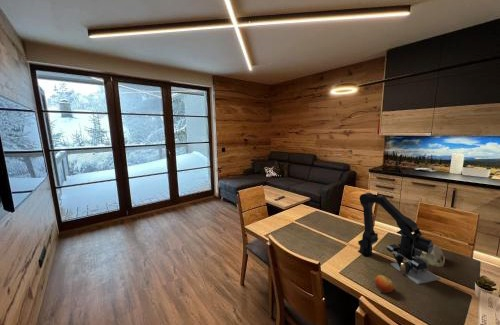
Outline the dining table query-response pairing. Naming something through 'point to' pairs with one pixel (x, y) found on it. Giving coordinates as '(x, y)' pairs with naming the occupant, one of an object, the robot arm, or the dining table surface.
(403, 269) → the metal knob rod
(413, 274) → the barrel bolt latch
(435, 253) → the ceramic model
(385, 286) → the fruit
